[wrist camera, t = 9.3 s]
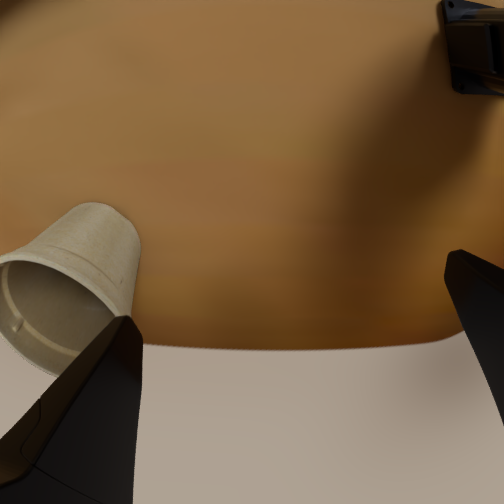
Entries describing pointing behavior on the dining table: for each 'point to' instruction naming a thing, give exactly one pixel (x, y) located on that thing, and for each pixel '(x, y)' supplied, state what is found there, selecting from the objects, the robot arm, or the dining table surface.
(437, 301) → the dining table surface
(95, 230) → the flower pot
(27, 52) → the dining table surface
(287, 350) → the dining table surface
